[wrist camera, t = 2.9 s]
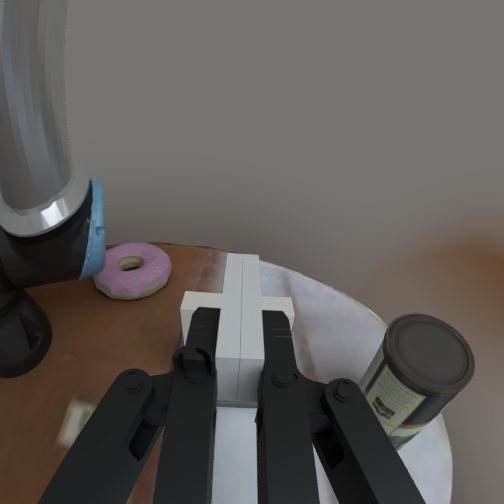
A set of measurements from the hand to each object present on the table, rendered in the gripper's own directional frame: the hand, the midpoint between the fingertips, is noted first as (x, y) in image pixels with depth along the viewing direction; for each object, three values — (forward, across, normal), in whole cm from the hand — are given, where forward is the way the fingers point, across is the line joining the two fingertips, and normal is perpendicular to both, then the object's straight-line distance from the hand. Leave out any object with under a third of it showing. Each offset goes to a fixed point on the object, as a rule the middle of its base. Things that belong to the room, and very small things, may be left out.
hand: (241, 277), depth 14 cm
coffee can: (+1, +18, -22) cm, 28 cm away
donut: (+29, -20, -22) cm, 41 cm away
